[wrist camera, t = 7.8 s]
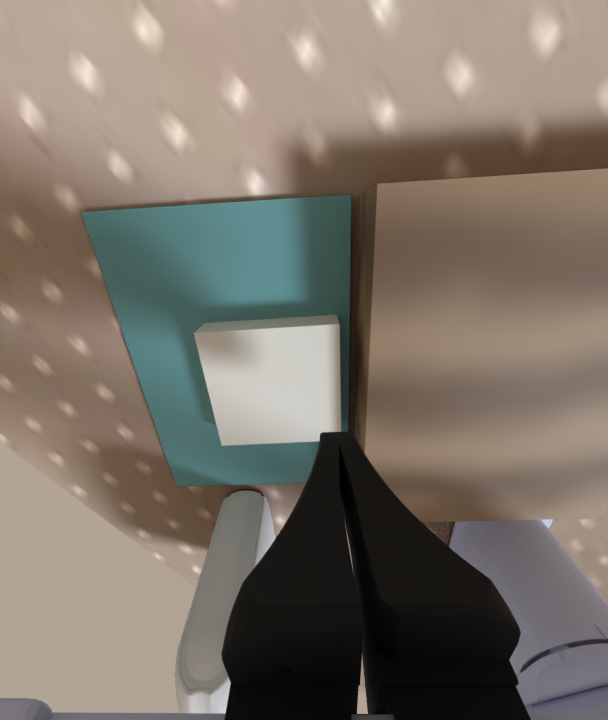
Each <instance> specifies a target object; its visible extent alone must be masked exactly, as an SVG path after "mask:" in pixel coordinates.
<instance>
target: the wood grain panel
mask: <svg viewBox="0 0 608 720" xmlns="http://www.w3.org/2000/svg"><path fill="white" fill-rule="evenodd" d="M354 435H355V437H356V439H357V441H358V443H359V445H360V447H361V448H362V450H363V452H364V453H365V455H366V456H367V458H368V459H369V461H370V462H371V464H372V465H373V467H374V468H375V470H376V471H377V472H378V474H379V475H380V476H381V478H382V479H383V480H384V482H385V483H386V484H387V485H388V487H389V488H390V489H391V490H392V491H393V493H394V494H395V495H396V496H397V497H398V498H399V500H400V501H401V502H402V503H403V504H404V505H405V506H406V507H407V508H408V509H409V510H410V511H411V512H412V513H413V514H414V515H415V516H416V517H417V518H418V519H419V520H420V521H421V522H422V523H423V522H463V521H504V520H545V519H586V518H603V517H604V515H605V513H606V511H607V510H608V168H607V169H591V170H576V171H561V172H546V173H531V174H516V175H501V176H486V177H471V178H456V179H441V180H426V181H411V182H396V183H381V184H376V185H375V186H373V187H371V188H370V189H368V190H367V191H365V192H363V193H362V194H360V219H359V259H358V299H357V339H356V379H355V419H354Z"/></svg>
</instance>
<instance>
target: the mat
mask: <svg viewBox="0 0 608 720" xmlns="http://www.w3.org/2000/svg"><path fill="white" fill-rule="evenodd" d="M81 215H82V218H83V220H84V223H85V226H86V229H87V232H88V235H89V238H90V241H91V243H92V246H93V249H94V252H95V255H96V258H97V261H98V263H99V266H100V269H101V272H102V275H103V278H104V281H105V284H106V286H107V289H108V292H109V295H110V298H111V301H112V304H113V307H114V309H115V312H116V315H117V318H118V321H119V324H120V327H121V329H122V332H123V335H124V338H125V341H126V344H127V347H128V350H129V352H130V355H131V358H132V361H133V364H134V367H135V370H136V373H137V375H138V378H139V381H140V384H141V387H142V390H143V393H144V395H145V398H146V401H147V404H148V407H149V410H150V413H151V416H152V418H153V421H154V424H155V427H156V430H157V433H158V436H159V439H160V441H161V444H162V447H163V450H164V453H165V456H166V459H167V461H168V464H169V467H170V470H171V473H172V476H173V479H174V482H175V484H176V487H179V486H213V485H246V484H280V483H306V482H307V480H308V478H309V475H310V473H311V470H312V467H313V464H314V461H315V458H316V455H317V451H318V446H319V441H315V442H293V443H271V444H248V445H226V446H222V445H221V441H220V437H219V433H218V429H217V425H216V421H215V417H214V413H213V409H212V405H211V401H210V397H209V393H208V389H207V385H206V381H205V377H204V373H203V369H202V365H201V361H200V357H199V353H198V348H197V344H196V340H195V336H194V332H195V331H196V330H197V329H199V328H200V327H201V326H202V325H203V324H204V323H212V322H228V321H244V320H260V319H276V318H292V317H308V316H324V315H337V318H338V321H339V324H340V380H341V432H347V431H348V409H349V336H350V263H351V194H349V195H334V196H319V197H303V198H288V199H273V200H257V201H242V202H227V203H212V204H196V205H181V206H166V207H150V208H135V209H120V210H105V211H89V212H81Z"/></svg>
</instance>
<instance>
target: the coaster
mask: <svg viewBox="0 0 608 720" xmlns="http://www.w3.org/2000/svg"><path fill="white" fill-rule="evenodd" d="M194 336H195V340H196V344H197V348H198V353H199V357H200V361H201V365H202V369H203V373H204V377H205V381H206V385H207V389H208V393H209V397H210V401H211V405H212V409H213V413H214V417H215V421H216V425H217V429H218V433H219V437H220V441H221V445H222V446H226V445H248V444H271V443H293V442H315V441H319V440H320V434H321V433H322V432H341V380H340V324H339V321H338V318H337V315H324V316H308V317H292V318H276V319H260V320H244V321H228V322H212V323H204V324H203V325H202V326H201V327H200V328H199V329H197V330H196V331H195V332H194Z"/></svg>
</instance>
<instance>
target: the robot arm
mask: <svg viewBox="0 0 608 720" xmlns="http://www.w3.org/2000/svg"><path fill="white" fill-rule="evenodd" d="M343 514H344V515H343ZM344 519H345V521H344ZM552 521H553V519H545V520H504V521H463V522H455V524H454V528H453V532H452V536H451V540H450V544H449V547H448V546H447V545H446V544H445V543H444V542H442V541H441V540H440V539H439V538H438V537H437V536H436V535H435V534H434V533H433V532H431V531H430V530H429V529H428V528H427V527H426V526H425V525H424V524H423V523H422V522H421V521H420V520H419V519H418V518H417V517H416V516H415V515H414V514H413V513H412V512H411V511H410V510H409V509H408V508H407V507H406V506H405V505H404V504H403V503H402V502H401V501H400V500H399V498H398V497H397V496H396V495H395V494H394V493H393V491H392V490H391V489H390V488H389V487H388V485H387V484H386V483H385V482H384V480H383V479H382V478H381V476H380V475H379V474H378V472H377V471H376V470H375V468H374V467H373V465H372V464H371V462H370V461H369V459H368V458H367V456H366V455H365V453H364V452H363V450H362V448H361V447H360V445H359V443H358V441H357V439H356V437H355V435H354V433H352V432H351V431H347V432H322V433H321V434H320V440H319V446H318V451H317V455H316V458H315V461H314V464H313V467H312V470H311V473H310V475H309V478H308V480H307V482H306V485H305V487H304V490H303V492H302V494H301V496H300V498H299V500H298V502H297V504H296V506H295V508H294V509H293V511H292V513H291V515H290V516H289V518H288V520H287V522H286V523H285V525H284V527H283V528H282V530H281V531H280V533H279V534H278V536H277V537H276V539H275V540H274V542H273V543H272V545H271V546H270V548H269V549H268V550H267V552H266V553H265V555H264V556H263V557H262V559H261V560H260V561H259V562H258V564H257V565H256V566H255V567H254V569H253V570H252V571H251V572H250V574H249V575H248V576H247V578H246V579H245V580H244V581H243V583H242V586H241V588H240V590H239V593H238V595H237V597H236V600H235V603H234V605H233V608H232V611H231V614H230V617H229V621H228V624H227V628H226V633H225V638H224V643H223V647H222V652H221V656H222V662H223V664H224V667H225V669H226V672H227V675H228V677H229V680H230V682H231V685H230V690H229V696H228V702H227V708H226V713H52V711H51V709H50V707H49V706H48V705H47V704H45V703H44V702H42V701H39V700H35V699H28V698H27V699H26V698H0V720H608V602H607V601H606V600H605V599H604V597H603V596H602V595H601V594H600V592H599V591H598V590H597V589H596V587H595V586H594V585H593V584H592V582H591V581H590V580H589V579H588V577H587V576H586V575H585V574H584V572H583V571H582V570H581V569H580V567H579V566H578V565H577V563H576V562H575V561H574V560H573V558H572V557H571V556H570V555H569V553H568V552H567V551H566V550H565V548H564V547H563V546H562V545H561V543H560V542H559V541H558V540H557V538H556V537H555V536H554V535H553V533H552V532H551V531H550V530H549V527H550V525H551V523H552ZM345 524H346V528H345ZM346 529H347V534H348V539H349V544H350V550H351V556H352V564H353V570H352V564H351V559H350V552H349V546H348V540H347V534H346ZM353 573H354V575H353ZM362 657H363V667H364V677H365V687H366V697H367V706H368V707H367V708H368V714H357V701H358V700H357V698H358V685H360V674H361V659H362Z"/></svg>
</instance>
